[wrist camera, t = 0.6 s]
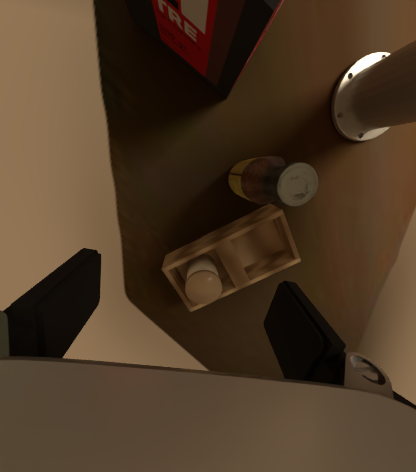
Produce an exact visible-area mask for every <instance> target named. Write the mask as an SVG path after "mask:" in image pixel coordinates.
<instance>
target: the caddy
mask: <svg viewBox="0 0 416 472" xmlns="http://www.w3.org/2000/svg"><path fill="white" fill-rule="evenodd" d="M201 254H207V255H210V256H211V257H212V258H213V259H214V261H215V264H216V268H217V272H218V276H219V278H220V280H221V284H222V292H221V294H220V296H219V297H218V298H217V299H216V300H218V299H220V298H222V297H225V296H227V295H229V294H231V293H233V292H235V291H237V290H240V289H242V288H244V287H246V286H248V285H250V284H253V283H255V282H257V281H259V280H261V279H263V278H266V277H268V276H270V275H272V274H274V273H276V272H279V271H281V270H283V269H285V268H287V267H289V266H292V265H294V264H296V263H298V262H300V261H301V259H300V256H299V254H298V251H297V248H296V245H295V243H294V240H293V237H292V234H291V231H290V229H289V226H288V223H287V220H286V218H285V215H284V212H283V210H282V209H280V208H278V207H276V206H274V205H272V204H268V205H266V206H263V207H261V208H259V209H257V210H255V211H253V212H251V213H249V214H247V215H245V216H243V217H241V218H239V219H237V220H235V221H233V222H231V223H229V224H227V225H225V226H223V227H221V228H219V229H217V230H215V231H213V232H211V233H209V234H207V235H205V236H203V237H201V238H199V239H197V240H195V241H193V242H191V243H189V244H187V245H185V246H183V247H181V248H179V249H177V250H175V251H173V252H171V253H169V254H167V255H165V258H164V262H163V266H162V271H163V272H164V274H165V275H166V277H167V278H168V280H169V281H170V283H171V284H172V285H173V287H174V288H175V290H176V291H177V293H178V294H179V296H180V297H181V299H182V300H183V302H184V303H185V305H186V306H187V307H188V309H189V310H190V312H192V311H194V310H196V309H199V308H201V307H203V306H205V305H207V304H198V303H195V302H193V301H191V300H190V299H189V298H188V297H187V295H186V292H185V284H186V281H187V264H188V261H189V260H191V259H193V258H195V257H197V256H199V255H201ZM216 300H215V301H216ZM213 302H214V301H213ZM211 303H212V302H211ZM208 304H209V303H208Z"/></svg>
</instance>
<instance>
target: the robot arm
mask: <svg viewBox="0 0 416 472" xmlns="http://www.w3.org/2000/svg"><path fill="white" fill-rule="evenodd" d="M331 114H332V120H333V123H334V126H335V128H336V129H337V131H338V132H339V133H340V134H341V135H342V136H343V137H345V138H346V139H348V140H352V141H365V140H370V139H373V138H375V137H377V136H379V135H381V134H382V133H384V132H385V131H386V130H387V129H388V128H389V127H390V126H396V125H401V124H406V123H412V122H416V40H415V41H413V42H412V43H410V44H408V45H406V46H404V47H402V48H401V49H399V50H397V51H395V52H393V53H392V54H390V53H388V52H375V53H371V54H369V55H366V56H364V57H362V58H361V59H359V60H358V61H356V62H355V63H354V64H352V65H351V66H350V67H349V68H348V69H347V70H346V71H345V73H344V74H343V75H342V77H341V78H340V80H339V82H338V84H337V86H336V88H335V91H334V94H333V98H332V104H331ZM100 275H101V254H98V252H97V250H92V249H86V248H83V249H82V250H80V251H79V252H78V253H76V254H75V255H74V256H72V257H71V258H70V259H69V260H67V261H66V262H65V263H63V264H62V265H61V266H60V267H58V268H57V269H56V270H54V271H53V272H52V273H51V274H49V275H48V276H47V277H46V278H44V279H43V280H42V281H40V282H39V283H38V284H36V285H35V286H34V287H33V288H31V289H30V290H29V291H27V292H26V293H25V294H24V295H22V296H21V297H20V298H18V299H17V300H16V301H15V302H13V303H12V304H11V305H10V306H9V307H8V308H6V309H5V310H4V311H3V312H2V311H0V472H416V405H414V404H413V403H411V402H410V401H408V400H406V399H405V398H404V397H402V396H400V395H399V394H397V393H396V392H394V391H393V390H392V386H391V382H390V380H389V378H388V376H387V375H386V373H385V372H384V371H383V370H382V369H381V368H380V367H379V366H378V365H377V364H375V363H374V362H373V361H372V360H370V359H368V358H367V357H365V356H363V355H361V354H358V353H355V352H349V353H347V354H345V352H344V351H343V350H344V348H345V347H346V345H345V343H344V342H343V341H342V340H341V339H340V337H339V336H338V335H337V334H336V332H335V331H334V330H333V329H332V327H331V326H330V325H329V324H328V322H327V321H326V320H325V319H324V317H323V316H322V315H321V314H320V313H319V311H318V310H317V309H316V308H315V306H314V305H313V304H312V303H311V301H310V300H309V299H308V298H307V296H306V295H305V294H304V293H303V291H302V290H301V289H300V288H299V287H298V285H297V284H296V283H295V282H289V281H283V282H282V283H280V284H279V285H278V288H277V290H276V293H275V295H274V298H273V300H272V303H271V305H270V308H269V310H268V313H267V315H266V318H265V320H264V328H265V330H266V333H267V335H268V338H269V340H270V343H271V345H272V348H273V350H274V353H275V355H276V358H277V360H278V362H279V365H280V367H281V370H282V372H283V375H284V377H285V379H283V378H273V377H263V376H254V375H244V374H234V373H223V372H213V371H202V370H191V369H181V368H171V367H160V366H149V365H137V364H126V363H115V362H104V361H92V360H78V359H64V358H63V356H64V354H65V353H66V352H67V350H68V349H69V347H70V346H71V344H72V343H73V341H74V340H75V338H76V337H77V335H78V334H79V332H80V331H81V330H82V328H83V326H84V325H85V324H86V322H87V321H88V319H89V318H90V316H91V315H92V313H93V312H94V310H95V309H96V307H97V306H98V303H99V300H100V277H101V276H100Z"/></svg>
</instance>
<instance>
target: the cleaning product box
mask: <svg viewBox="0 0 416 472" xmlns="http://www.w3.org/2000/svg"><path fill="white" fill-rule="evenodd" d="M125 1H126V4H127V6H128V9H129V11H130V14H131V16H132V19H133V21H135V22H136V23H137V24H138V25H139V26H140V27H142V28H143V29H144V30H145V31H146V32H148V33H149V34H150V35H151V36H152V37H153V38H155V39H156V40H157V41H158V42H159V43H161V44H162V45H163V46H164V47H165V48H166V49H168V50H169V51H170V52H171V53H172V54H173V55H175V56H176V57H177V58H178V59H179V60H181V61H182V62H183V63H184V64H185V65H186V66H188V67H189V68H190V69H191V70H192V71H193V72H195V73H196V74H197V75H198V76H199V77H201V78H202V79H203V80H204V81H205V82H206V83H208V84H209V85H210V86H211V87H212V88H214V89H215V90H216V91H217V92H218V93H219V94H221V95H222V96H223V97H224V98H225V99H227V97H228V95H229V94H230V92H231V90H232V89H233V87H234V85H235V84H236V82H237V80H238V79H239V77H240V75H241V74H242V72H243V71H244V69H245V67H246V66H247V64H248V62H249V61H250V59H251V57H252V56H253V54H254V52H255V51H256V49H257V47H258V46H259V44H260V42H261V41H262V39H263V37H264V35H265V34H266V32H267V30H268V28H269V27H270V25H271V23H272V21H273V20H274V18H275V16H276V14H277V13H278V11H279V9H280V7H281V6H282V4H283V2H284V0H125Z"/></svg>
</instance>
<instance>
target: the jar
mask: <svg viewBox="0 0 416 472" xmlns="http://www.w3.org/2000/svg"><path fill="white" fill-rule="evenodd" d="M185 292H186V295H187V297H188V298H189V299H190V300H191V301H193V302H195V303H198V304H208V303H211V302H213V301H215V300H216V299H217V298H218V297H219V296H220V294H221V292H222V284H221V280H220V278H219V276H218V272H217V268H216V264H215V261H214V259H213V258H212V257H211V256H210V255H207V254H201V255H199V256H197V257H195V258H193V259H191V260H189V261H188V264H187V281H186V284H185Z"/></svg>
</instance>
